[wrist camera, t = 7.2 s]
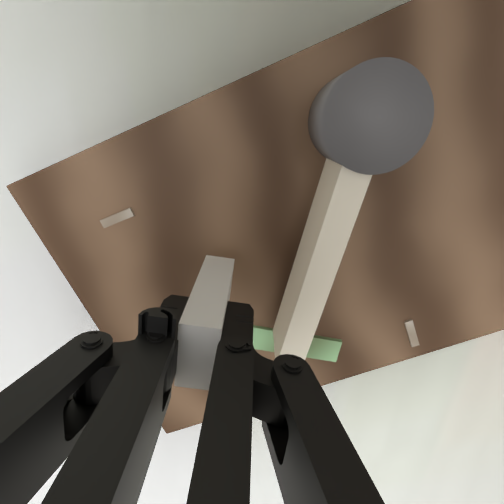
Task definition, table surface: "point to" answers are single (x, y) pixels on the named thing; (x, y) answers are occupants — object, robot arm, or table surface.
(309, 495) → the robot arm
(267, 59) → the table surface
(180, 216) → the dial board
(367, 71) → the grey-tipped match
